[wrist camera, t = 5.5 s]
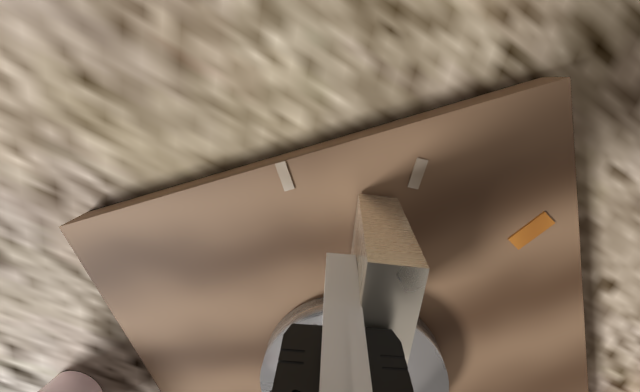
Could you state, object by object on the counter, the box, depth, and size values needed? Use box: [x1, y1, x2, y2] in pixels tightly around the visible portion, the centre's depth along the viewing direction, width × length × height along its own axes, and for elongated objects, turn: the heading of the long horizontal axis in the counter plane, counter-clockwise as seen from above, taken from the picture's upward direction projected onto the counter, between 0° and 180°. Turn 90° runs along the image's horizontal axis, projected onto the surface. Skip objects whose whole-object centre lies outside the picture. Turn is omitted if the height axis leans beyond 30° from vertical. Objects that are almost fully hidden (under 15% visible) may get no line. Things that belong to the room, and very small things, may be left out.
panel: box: [59, 77, 588, 392], centre depth 19 cm, size 21×25×2 cm
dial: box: [260, 194, 449, 392], centre depth 15 cm, size 16×10×6 cm, turn 175°
